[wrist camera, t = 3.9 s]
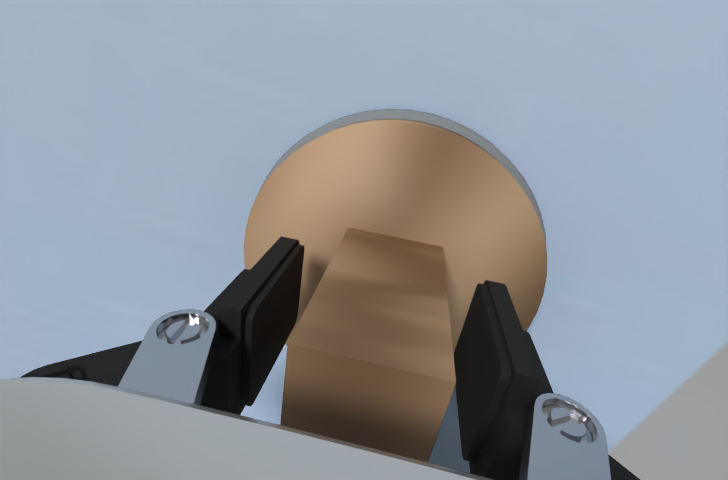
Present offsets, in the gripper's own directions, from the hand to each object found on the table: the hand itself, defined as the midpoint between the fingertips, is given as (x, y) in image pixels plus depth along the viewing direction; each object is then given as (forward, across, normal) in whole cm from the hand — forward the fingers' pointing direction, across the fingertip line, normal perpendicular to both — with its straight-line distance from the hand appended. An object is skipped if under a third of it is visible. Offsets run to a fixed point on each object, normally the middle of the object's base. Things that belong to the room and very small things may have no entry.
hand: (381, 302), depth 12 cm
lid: (+3, 0, 0) cm, 3 cm away
